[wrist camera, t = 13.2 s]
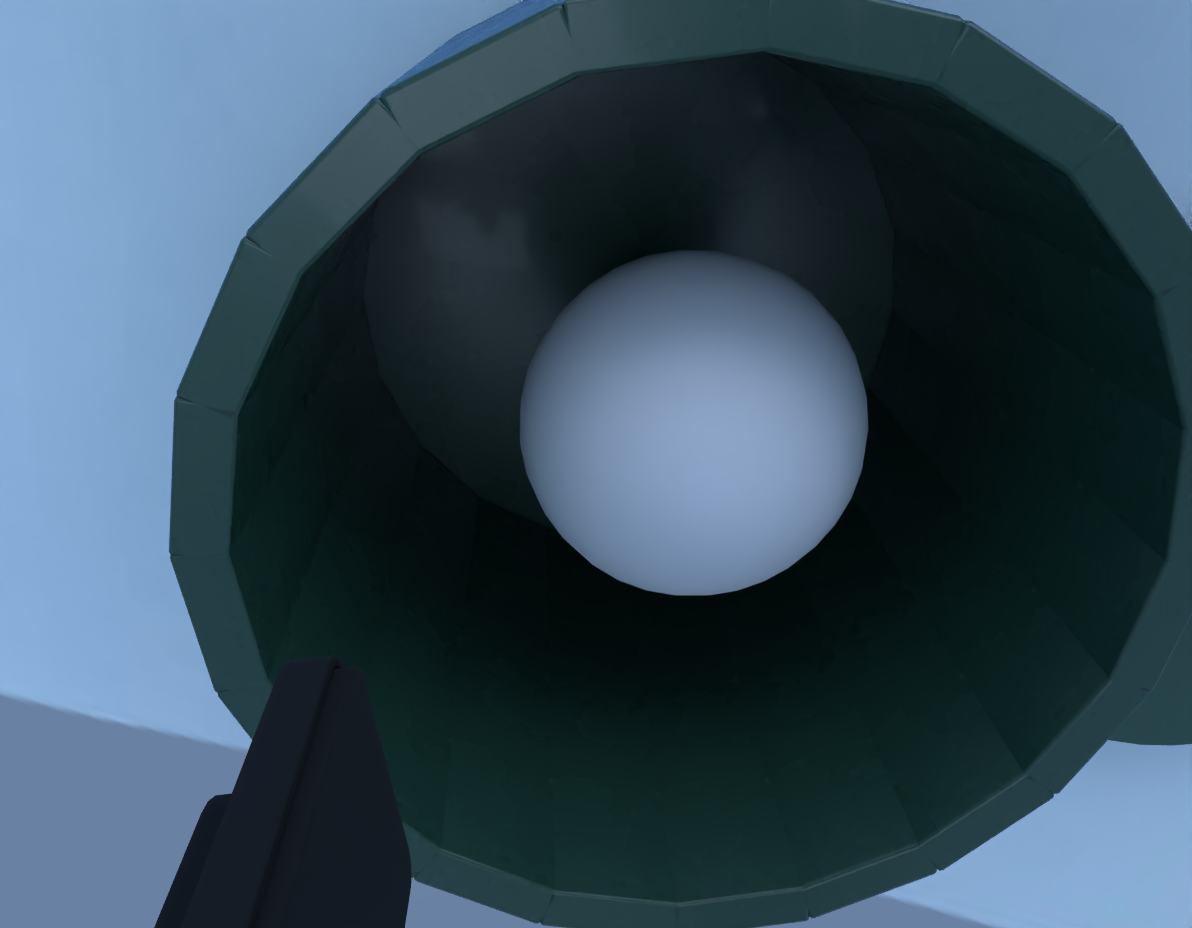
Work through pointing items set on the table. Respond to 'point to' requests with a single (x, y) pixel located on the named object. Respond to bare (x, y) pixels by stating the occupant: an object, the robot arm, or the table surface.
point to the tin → (759, 612)
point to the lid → (1165, 703)
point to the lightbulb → (693, 422)
